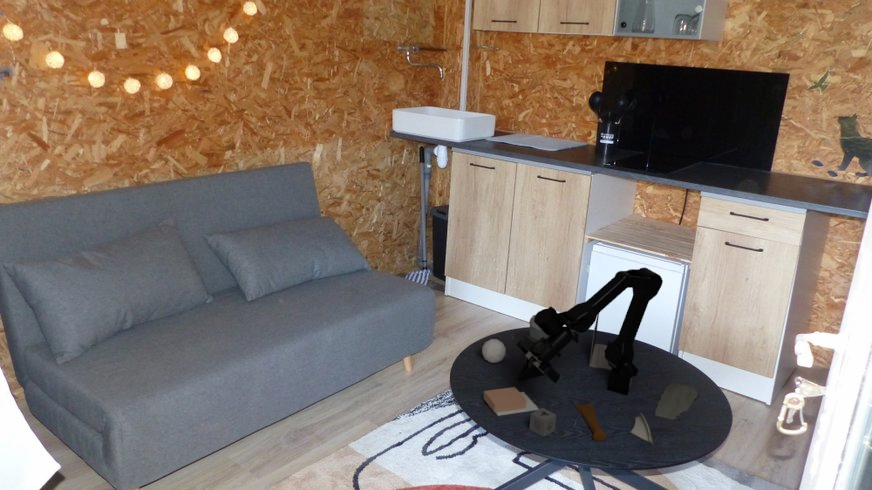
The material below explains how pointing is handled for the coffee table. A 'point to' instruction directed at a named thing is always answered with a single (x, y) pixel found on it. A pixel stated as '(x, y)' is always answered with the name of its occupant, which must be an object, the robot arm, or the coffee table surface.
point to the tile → (504, 399)
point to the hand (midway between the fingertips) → (517, 381)
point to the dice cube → (542, 422)
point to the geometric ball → (493, 351)
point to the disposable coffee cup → (536, 330)
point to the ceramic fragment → (642, 429)
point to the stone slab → (675, 400)
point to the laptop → (598, 352)
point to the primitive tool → (591, 421)
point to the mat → (529, 407)
